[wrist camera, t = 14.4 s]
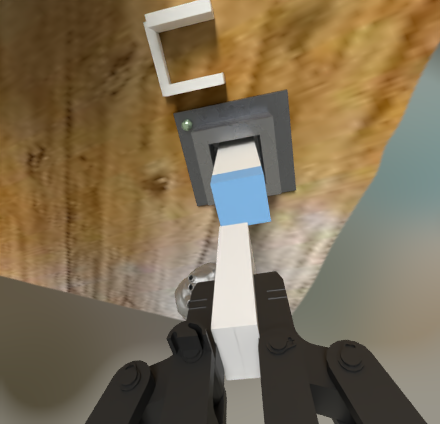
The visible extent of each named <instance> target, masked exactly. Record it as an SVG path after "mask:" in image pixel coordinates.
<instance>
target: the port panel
mask: <svg viewBox="0 0 440 424" xmlns="http://www.w3.org/2000/svg"><path fill="white" fill-rule="evenodd" d="M173 114H174V118H175V122H176V126H177V130H178V133H179V137H180V141H181V145H182V149H183V153H184V157H185V160H186V164H187V168H188V172H189V176H190V180H191V183H192V187H193V191H194V195H195V199H196V203H197V206H202V205H215V201H214V197H213V193H212V189H211V185H210V183H211V178H212V174H213V169H214V165H215V160H216V156H217V151H218V147H219V142H224V141H229V140H234V139H239V138H244V137H250V136H253V138H254V142H255V146H256V149H257V153H258V156H259V160H260V163H261V167H262V170H263V174H264V180H265V187H266V193H267V196H270V195H276V194H281V193H282V192H288V191H294V190H296V185H295V173H294V162H293V150H292V139H291V127H290V116H289V104H288V92H287V89H286V90H281V91H277V92H272V93H267V94H262V95H257V96H253V97H248V98H243V99H238V100H234V101H229V102H224V103H219V104H215V105H210V106H205V107H200V108H195V109H191V110H186V111H181V112H176V113H173Z"/></svg>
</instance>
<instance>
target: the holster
mask: <svg viewBox="0 0 440 424" xmlns="http://www.w3.org/2000/svg"><path fill="white" fill-rule="evenodd" d="M144 15H145V18H146V22H143V23H144V27H145V31H146V35H147V38H148V42H149V46H150V50H151V53H152V57H153V61H154V64H155V68H156V72H157V76H158V79H159V83H160V87H161V91H162V94H163V96H171V95H176V94H180V93H185V92H189V91H194V90H198V89H203V88H208V87H212V86H217V85H221V84H225V83H226V82H225V76H224V73H219V74H214V75H210V76H205V77H201V78H196V79H192V80H187V81H183V82H179V83H174V84H171V80H170V76H169V72H168V68H167V65H166V61H165V57H164V53H163V49H162V45H161V41H160V37H159V33H160V32H164V31H168V30H172V29H176V28H180V27H184V26H188V25H192V24H196V23H200V22H204V21H208V20H212V19H214V13H213V7H212V4H211V1H210V0H198V1H194V2H190V3H186V4H182V5H179V6H175V7H171V8H167V9H163V10H160V11H156V12H152V13H148V14H144Z"/></svg>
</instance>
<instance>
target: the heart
mask: <svg viewBox="0 0 440 424" xmlns="http://www.w3.org/2000/svg"><path fill="white" fill-rule="evenodd" d="M215 274H216V264H214V263H207V264H204V265H202V266H201V267H199V268H196V269H195V270H194V271H193V272H191V274H190V275H189V276H188V277H187V278H185V279H184V280H183V281H182V282H181V283H180V284H179V286H178V287H177V289H176V291H175V298H176V304H177V309H178V312H179V313H180V314H181V315H182V317H183V318H184V319H187V314H188V310H189V303H190V298H191V292H192V290H193V288H194V287H195V285H196V284H197V283H198V282H204V281H211V280H215Z"/></svg>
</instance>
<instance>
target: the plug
mask: <svg viewBox="0 0 440 424" xmlns="http://www.w3.org/2000/svg"><path fill="white" fill-rule="evenodd" d="M210 185H211V189H212V193H213V197H214V201H215V205H216V209H217V213H218V217H219V221H220V225H221V226H226V225H233V224H240V223H246V222H247V223H248V225H252V224H258V223H264V222H270V221H271V218H270V212H269V206H268V199H267V193H266V187H265V180H264V174H263V170H262V167H261V163H260V160H259V156H258V153H257V149H256V146H255V142H254V138H253V136H250V137H244V138H239V139H234V140H229V141H224V142H219V147H218V151H217V156H216V160H215V165H214V169H213V174H212V178H211V183H210Z"/></svg>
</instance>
